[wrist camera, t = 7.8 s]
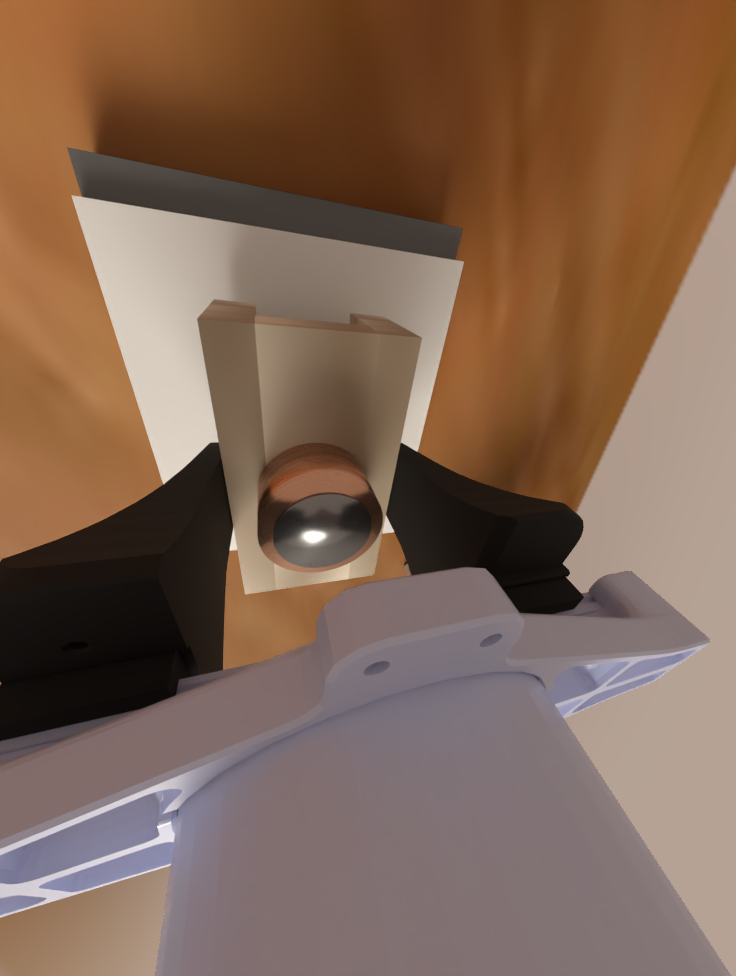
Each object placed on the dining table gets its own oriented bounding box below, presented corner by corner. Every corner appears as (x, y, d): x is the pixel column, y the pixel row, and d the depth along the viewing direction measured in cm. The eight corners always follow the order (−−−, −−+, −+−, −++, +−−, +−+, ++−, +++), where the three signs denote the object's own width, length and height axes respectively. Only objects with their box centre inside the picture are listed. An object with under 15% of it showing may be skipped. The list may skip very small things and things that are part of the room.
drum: (262, 534, 11) (263, 584, 9) (251, 444, 9) (250, 488, 7) (360, 524, 12) (375, 567, 10) (371, 441, 10) (393, 479, 8)
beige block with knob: (247, 534, 15) (245, 594, 13) (213, 298, 10) (196, 318, 7) (355, 523, 17) (373, 574, 14) (382, 316, 11) (422, 337, 8)
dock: (193, 523, 18) (186, 555, 16) (94, 161, 10) (54, 140, 8) (385, 506, 22) (398, 531, 20) (440, 230, 13) (472, 227, 11)
